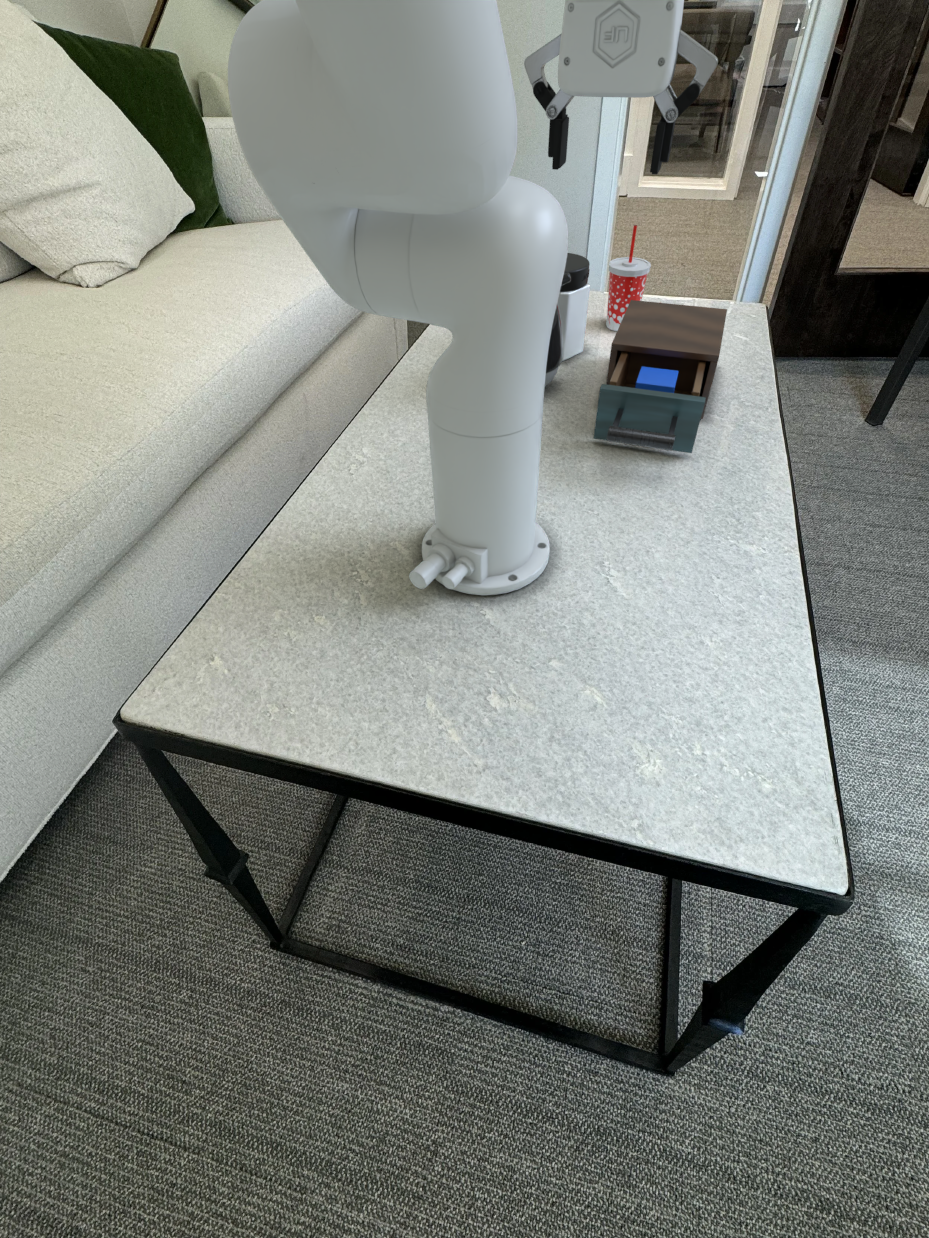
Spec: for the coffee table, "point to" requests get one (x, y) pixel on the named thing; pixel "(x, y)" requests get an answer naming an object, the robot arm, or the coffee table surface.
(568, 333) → the jar
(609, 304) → the beverage cup
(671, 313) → the cabinet
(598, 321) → the coffee table surface
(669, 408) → the drawer
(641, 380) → the blue block
